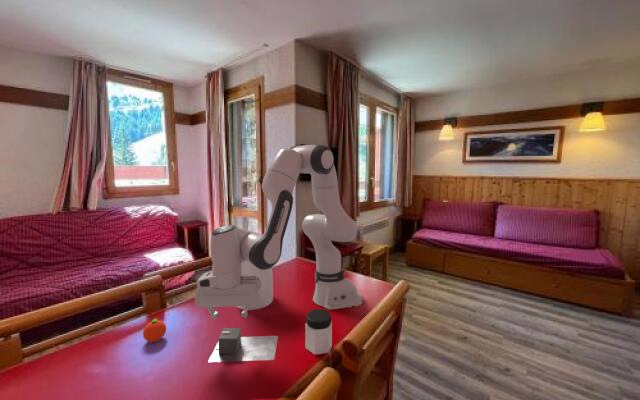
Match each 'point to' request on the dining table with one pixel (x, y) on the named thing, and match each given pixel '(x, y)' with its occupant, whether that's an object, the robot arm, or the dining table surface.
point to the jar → (318, 331)
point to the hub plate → (249, 350)
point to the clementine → (154, 330)
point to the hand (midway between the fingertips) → (230, 317)
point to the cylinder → (266, 283)
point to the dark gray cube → (229, 341)
